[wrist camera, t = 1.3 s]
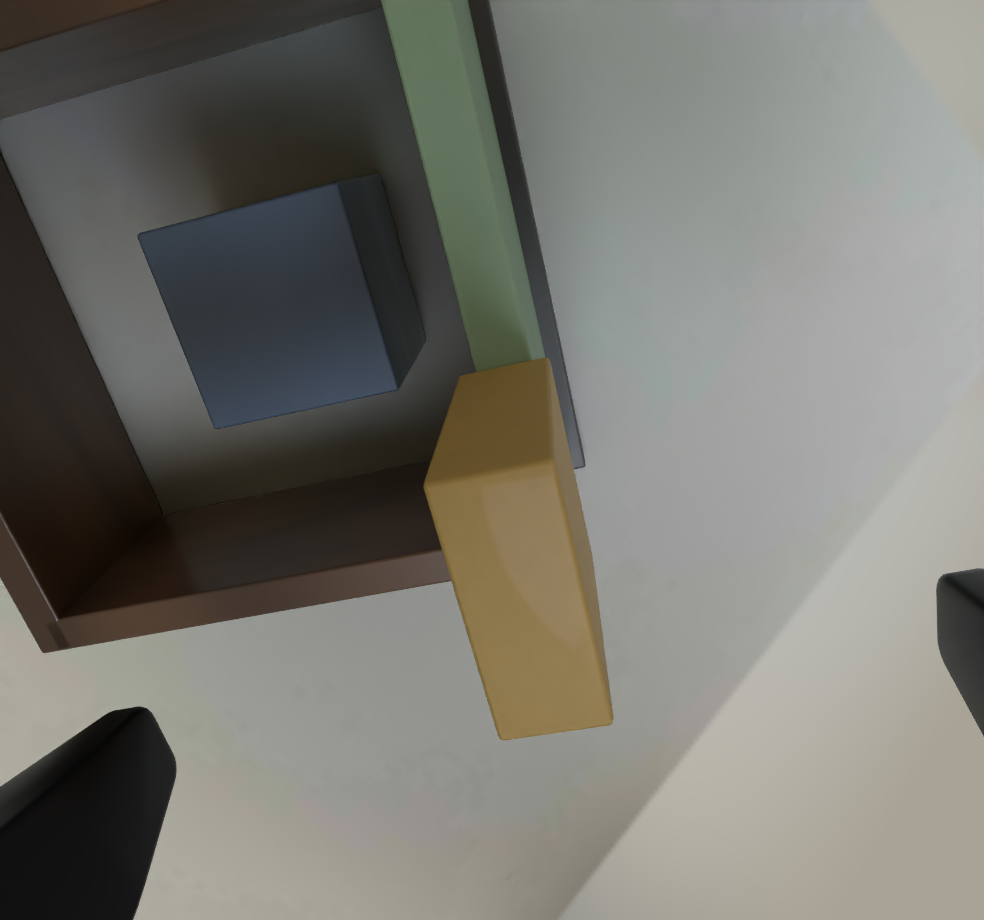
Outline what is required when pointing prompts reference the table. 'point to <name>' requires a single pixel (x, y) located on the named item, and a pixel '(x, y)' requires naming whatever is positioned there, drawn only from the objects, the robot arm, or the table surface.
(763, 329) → the table surface
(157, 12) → the cubby
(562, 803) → the table surface
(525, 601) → the green and tan bar
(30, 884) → the robot arm
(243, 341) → the block
